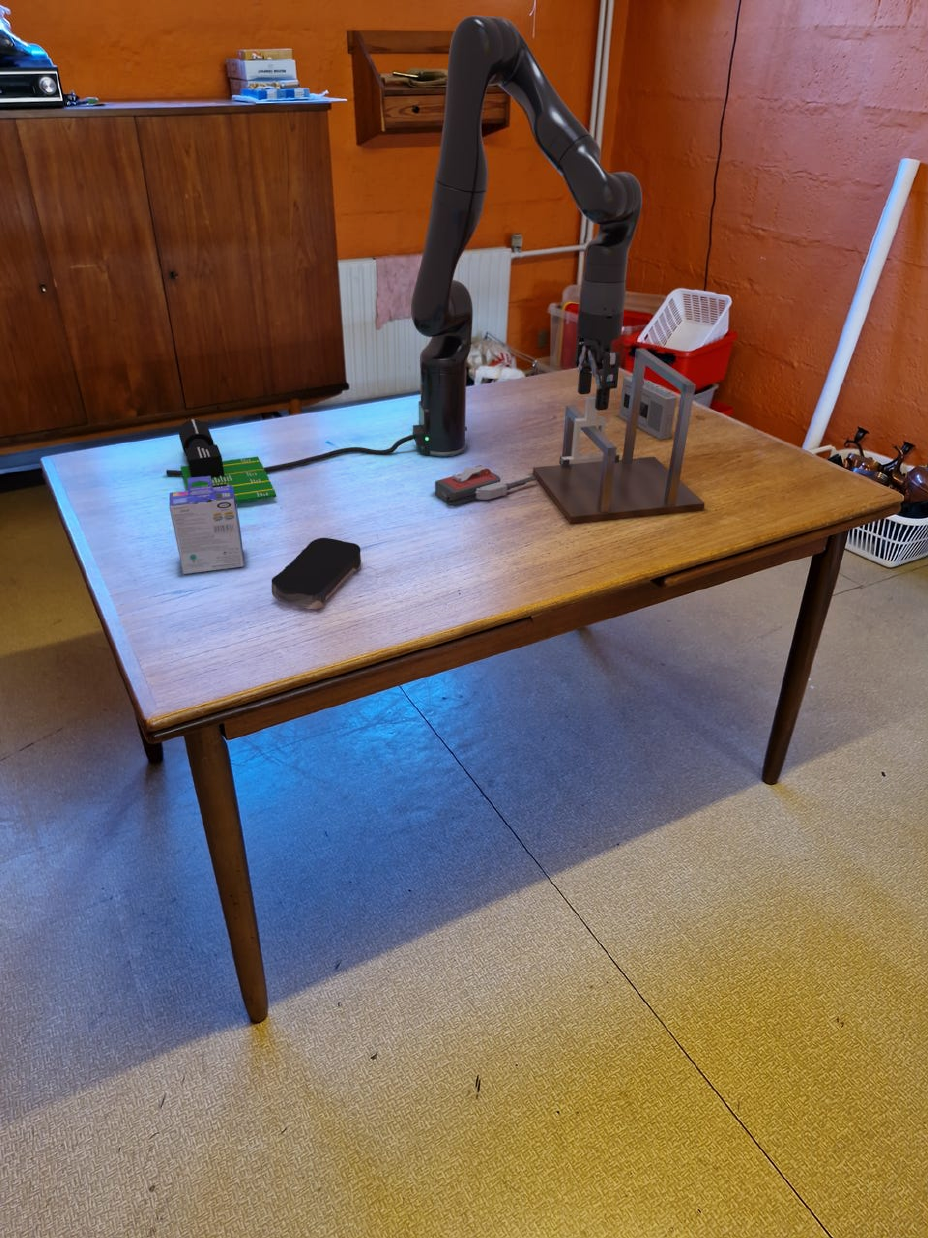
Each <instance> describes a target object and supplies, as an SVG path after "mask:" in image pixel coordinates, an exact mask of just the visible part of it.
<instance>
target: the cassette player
mask: <svg viewBox="0 0 928 1238" xmlns="http://www.w3.org/2000/svg"><path fill="white" fill-rule="evenodd" d="M632 378H633V375H632V376H627V377H623V379H622V386H621V394H620V405H619V410H618V411H619V412H618V417H619V418H621V419H622V420H624V421H626V422H627V418H628V410H629V402H630V394H631V386H632ZM677 399H678V398H677V396H674V395H673V394H672V391H670V390H668V389H666V388H665V387H662V386H660V385H658V384H656V383H653V382H652V381H650V380H648V379H645V378H644V379H643V387H642V394H641V402H640V409H639V417H638V424H637V428H639V429H640V430H642V431H644V432H646V433H648V434H649V435H651V436H653V437H655V438H656V439H658V440H661V441H662V440H666V439H671V437H672V431H673V424H674V418H675V411H676V406H677Z"/></svg>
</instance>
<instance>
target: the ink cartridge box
mask: <svg viewBox="0 0 928 1238" xmlns="http://www.w3.org/2000/svg"><path fill="white" fill-rule="evenodd" d="M198 481H203V482H207V483H208V486H202V487H192V486H191V484H193V483H195V482H198ZM187 482H188V491H187V490H182V491H175V492H169V503H168V504H169V507H168V508H169V512H170V516H171V522H172V527H173V532H174V537H175V540H176V541H175V542H176V547H177V552H178V556H179V562H180V567H181V573H182V575H189V574H195V573H203V572H209V571H216V570H217V571H218V570H227V569H234V568H241V567H245V557H244V548H243V538H242V532H241V524H240V518H239V513H238V506H237V503H236V500H235V495H234V491H233V487H232V485H230V486H222V487H214V488H213V486H212V481H211V476H203V477H192V478H187Z"/></svg>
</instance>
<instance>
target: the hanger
mask: <svg viewBox="0 0 928 1238" xmlns="http://www.w3.org/2000/svg"><path fill="white" fill-rule="evenodd" d="M595 400H596V395H586V396H585V405H584V414H583V415H584V418H577V419H575V422H574V433H573V444H572V455H571V456H568V457H567V456H562V455H561V456H559V465H561V466H562V467H563V468H564V467H569V464H578V463H589V462H600V461H603V454H604V453H603V452H602V453H593V454H581V455H579V452H580V451H579V450H580V441H581V431H582V430H581V427H589V426H596V427H597V428H598V429H599V430H600V431H601V432H602V433H603V434H604V435H605V436H606V427H607V418H606V417H605V416H598V414H599V411H598V410H596V409H595ZM619 460H620V454H619V453H617V452H616V455H615V463H618V462H619Z"/></svg>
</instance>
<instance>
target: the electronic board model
mask: <svg viewBox="0 0 928 1238" xmlns="http://www.w3.org/2000/svg"><path fill="white" fill-rule="evenodd" d="M178 437H179V440H180V444H181V447H182V450H183V453H184V456H185V457H186V461H187V465H183V466H179V467H180V471H181V472H182V475H183V476H182V479H183V482H184V485H185V489H186V491H188V482H187V478H192V477H203V476H211V481H212V486H213V488H214V487H222V486H230V485H232V487H233V491H234V495H235V500H236V504H238V503H243V502H244V503H245V502H252V501H258V500H265V499H273V498H277V493H276V491H275V488H274V487H273V485H272V482H271V480H270V479H269V476H268V474H267V472H265V470H264V466H263V463H262V461H261V460H260V458H259V456H252V457H251V456H250V457H244V458H243V457H242V458H236V459H235V458H234V459H229V460H228V459H227V460H223V457H222V456H223V455H222V453H221V451H220V448H219V446H218V444H215V442H214V439H213V436H212V434H211V432H210V429H209V427H208V425H207V424H206V423H205V422H203V421H202V420H200V419H193V418H192V419H188V420H186V421H184V422H183V423H182V424H181V425H180V427H179V430H178ZM191 486H192V487H202V486H208V483H207V482H203V481H198V482H195V483H193V484H191Z"/></svg>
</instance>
